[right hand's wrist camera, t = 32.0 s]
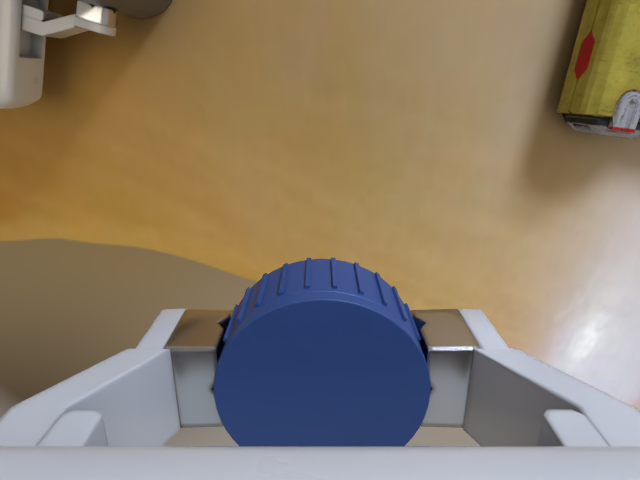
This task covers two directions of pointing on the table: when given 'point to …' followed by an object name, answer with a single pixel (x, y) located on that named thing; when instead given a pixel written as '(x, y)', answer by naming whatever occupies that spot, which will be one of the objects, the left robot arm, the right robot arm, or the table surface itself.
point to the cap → (321, 361)
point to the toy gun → (605, 71)
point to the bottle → (133, 6)
